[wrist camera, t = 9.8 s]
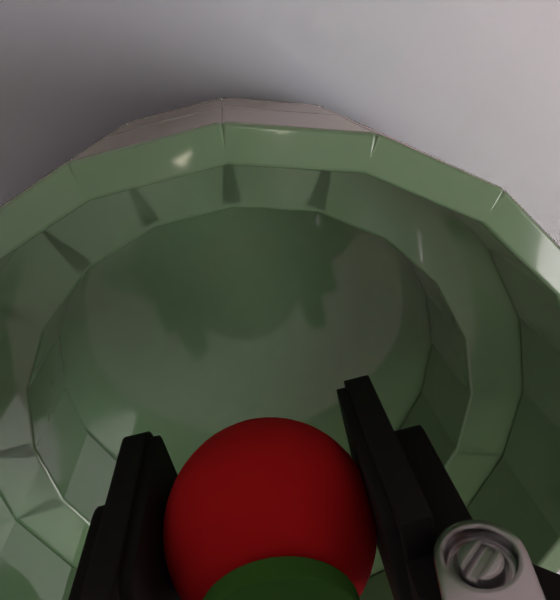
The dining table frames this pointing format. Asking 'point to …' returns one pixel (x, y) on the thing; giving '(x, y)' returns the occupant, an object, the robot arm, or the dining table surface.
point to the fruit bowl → (267, 316)
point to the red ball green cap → (269, 517)
